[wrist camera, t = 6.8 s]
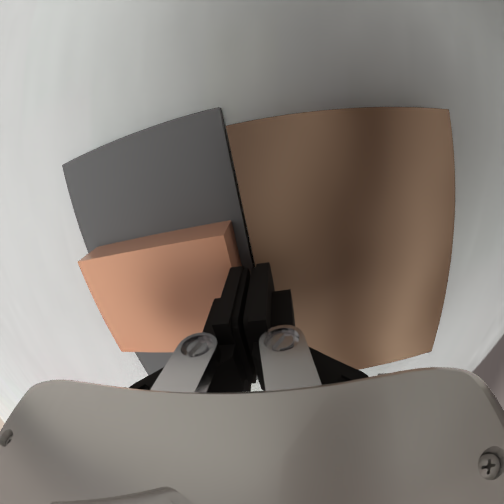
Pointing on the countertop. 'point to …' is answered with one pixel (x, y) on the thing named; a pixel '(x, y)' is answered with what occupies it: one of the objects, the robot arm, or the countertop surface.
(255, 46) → the countertop surface
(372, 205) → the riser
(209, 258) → the tile
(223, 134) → the mat
